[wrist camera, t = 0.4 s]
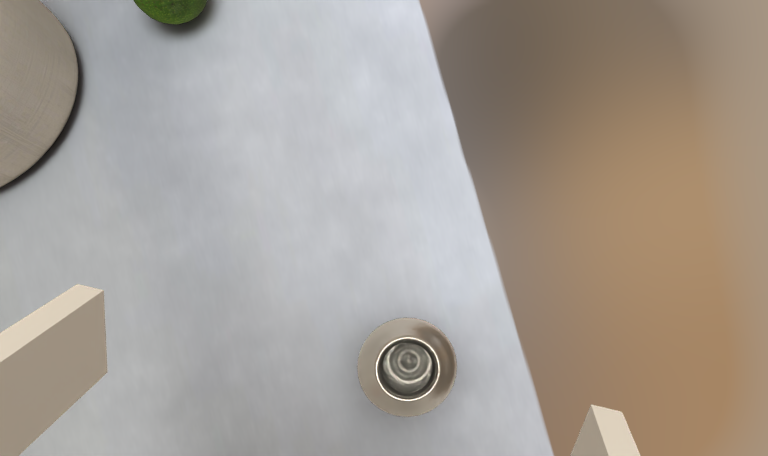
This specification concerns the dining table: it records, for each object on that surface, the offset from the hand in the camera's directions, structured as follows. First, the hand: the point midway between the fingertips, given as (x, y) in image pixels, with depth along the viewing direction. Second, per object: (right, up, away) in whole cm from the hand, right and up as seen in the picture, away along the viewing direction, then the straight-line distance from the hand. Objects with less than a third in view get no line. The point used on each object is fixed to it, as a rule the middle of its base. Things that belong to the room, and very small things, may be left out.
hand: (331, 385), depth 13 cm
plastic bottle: (+4, -8, +34) cm, 35 cm away
